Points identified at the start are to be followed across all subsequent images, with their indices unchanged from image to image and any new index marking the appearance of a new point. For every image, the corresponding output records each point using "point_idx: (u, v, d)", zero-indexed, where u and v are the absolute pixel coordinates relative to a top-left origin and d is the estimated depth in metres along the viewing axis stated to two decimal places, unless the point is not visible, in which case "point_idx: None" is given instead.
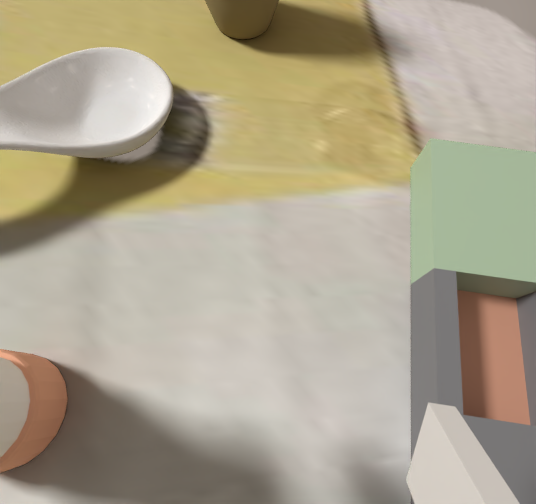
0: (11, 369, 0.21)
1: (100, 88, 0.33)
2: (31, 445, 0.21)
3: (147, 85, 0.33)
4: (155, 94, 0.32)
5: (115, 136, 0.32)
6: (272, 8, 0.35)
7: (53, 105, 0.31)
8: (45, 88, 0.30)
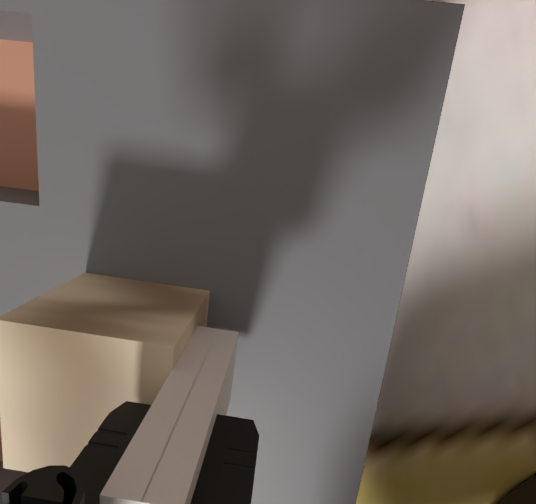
0: None
1: None
2: None
3: None
4: None
5: None
6: None
7: None
8: None
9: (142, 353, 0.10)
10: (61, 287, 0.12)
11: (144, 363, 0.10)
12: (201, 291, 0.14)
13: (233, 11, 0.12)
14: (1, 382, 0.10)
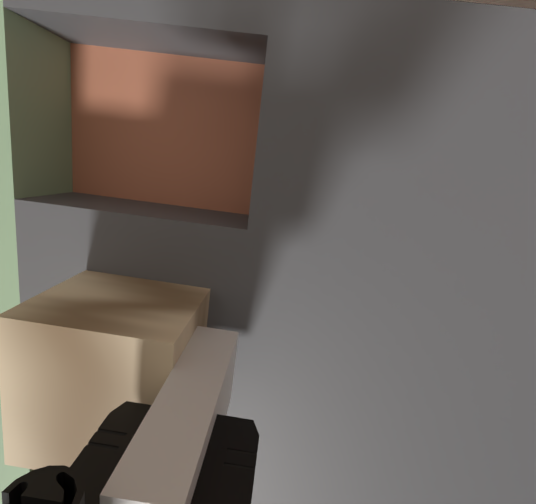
0: None
1: None
2: None
3: None
4: None
5: None
6: None
7: None
8: None
9: (142, 350, 0.10)
10: (62, 285, 0.12)
11: (145, 360, 0.10)
12: (202, 289, 0.14)
13: (486, 34, 0.11)
14: (2, 379, 0.10)
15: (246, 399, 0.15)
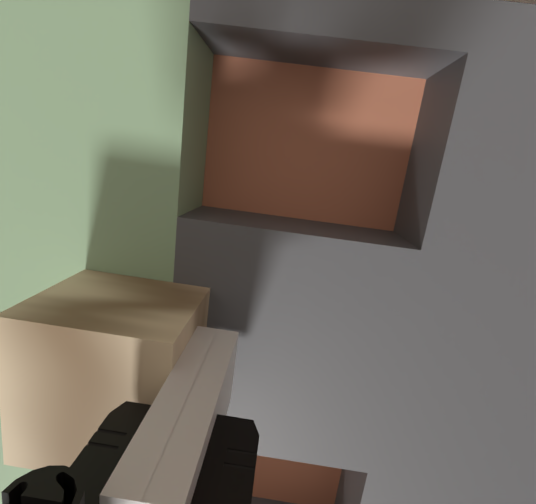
0: None
1: None
2: None
3: None
4: None
5: None
6: None
7: None
8: None
9: (142, 350, 0.10)
10: (61, 284, 0.12)
11: (143, 360, 0.10)
12: (201, 288, 0.14)
13: None
14: (1, 379, 0.10)
15: (399, 420, 0.15)
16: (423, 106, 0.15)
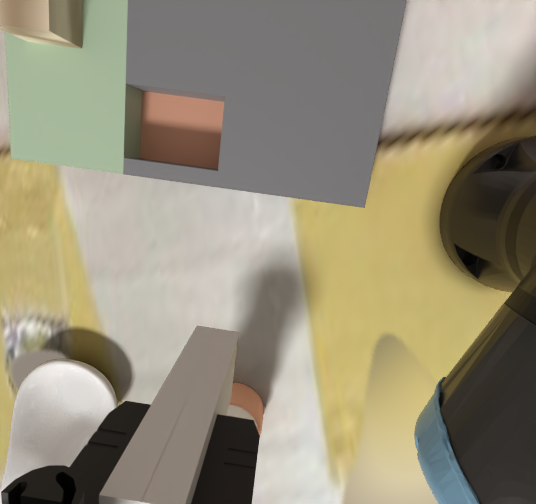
0: None
1: (57, 378, 0.43)
2: (246, 398, 0.41)
3: (87, 372, 0.42)
4: (97, 378, 0.42)
5: (90, 407, 0.45)
6: None
7: (41, 411, 0.43)
8: (29, 410, 0.42)
9: None
10: None
11: None
12: None
13: None
14: None
15: (236, 62, 0.31)
16: None
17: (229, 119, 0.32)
